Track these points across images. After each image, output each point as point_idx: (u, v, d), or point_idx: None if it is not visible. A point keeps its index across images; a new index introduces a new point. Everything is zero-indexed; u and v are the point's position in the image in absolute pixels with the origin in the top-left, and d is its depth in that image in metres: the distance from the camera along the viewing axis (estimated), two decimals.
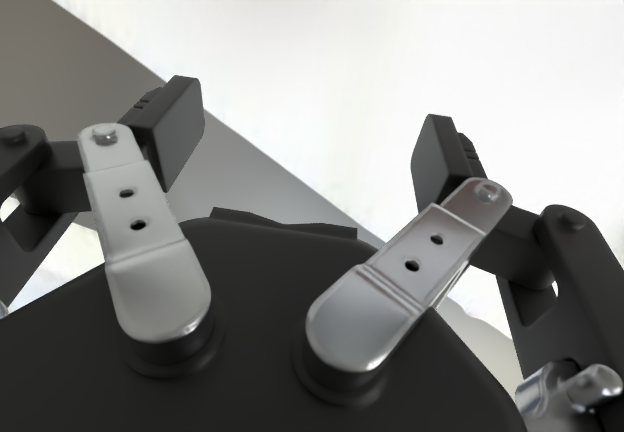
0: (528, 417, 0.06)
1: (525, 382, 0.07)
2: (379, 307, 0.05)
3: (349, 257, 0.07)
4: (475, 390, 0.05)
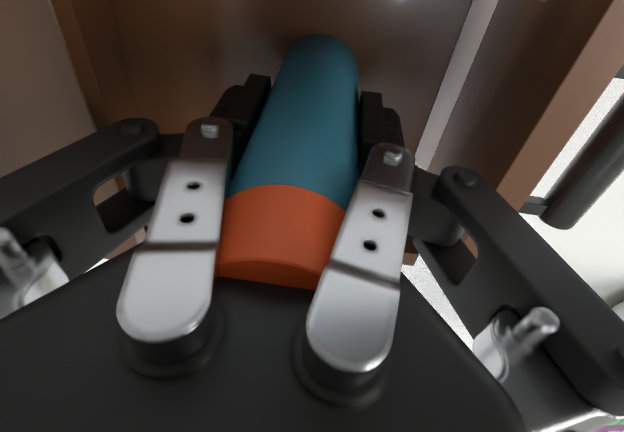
0: (500, 379, 0.06)
1: (479, 341, 0.07)
2: (365, 296, 0.05)
3: None
4: (475, 390, 0.05)
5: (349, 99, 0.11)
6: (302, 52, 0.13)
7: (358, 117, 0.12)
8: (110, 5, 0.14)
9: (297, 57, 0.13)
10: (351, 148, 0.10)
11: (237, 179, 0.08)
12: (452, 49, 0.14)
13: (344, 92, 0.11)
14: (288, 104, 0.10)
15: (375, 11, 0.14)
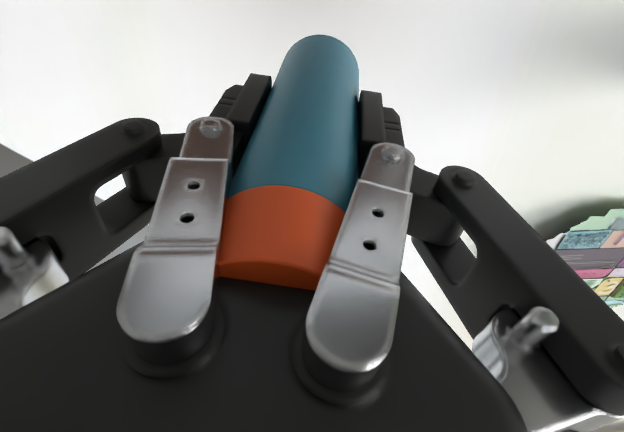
0: (500, 379, 0.06)
1: (479, 341, 0.07)
2: (365, 296, 0.05)
3: None
4: (475, 390, 0.05)
5: (349, 100, 0.11)
6: (302, 53, 0.13)
7: None
8: None
9: (297, 58, 0.13)
10: (351, 149, 0.10)
11: (237, 180, 0.08)
12: None
13: (344, 93, 0.11)
14: (288, 105, 0.10)
15: None
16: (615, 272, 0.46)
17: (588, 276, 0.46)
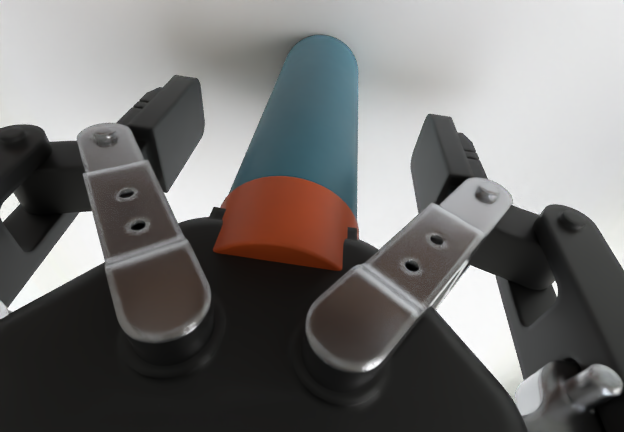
0: (528, 417, 0.06)
1: (525, 382, 0.07)
2: (379, 307, 0.05)
3: (349, 257, 0.07)
4: (475, 390, 0.05)
5: (349, 97, 0.12)
6: (303, 52, 0.14)
7: (357, 115, 0.13)
8: None
9: (298, 57, 0.13)
10: (350, 143, 0.10)
11: (242, 172, 0.09)
12: None
13: (344, 90, 0.12)
14: (290, 102, 0.10)
15: None
16: None
17: None
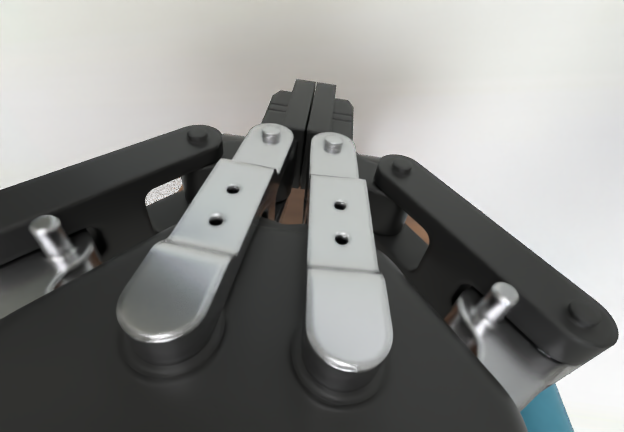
0: None
1: (448, 325, 0.07)
2: (355, 292, 0.05)
3: None
4: (475, 390, 0.05)
5: None
6: None
7: None
8: None
9: None
10: None
11: None
12: None
13: None
14: None
15: None
16: None
17: None
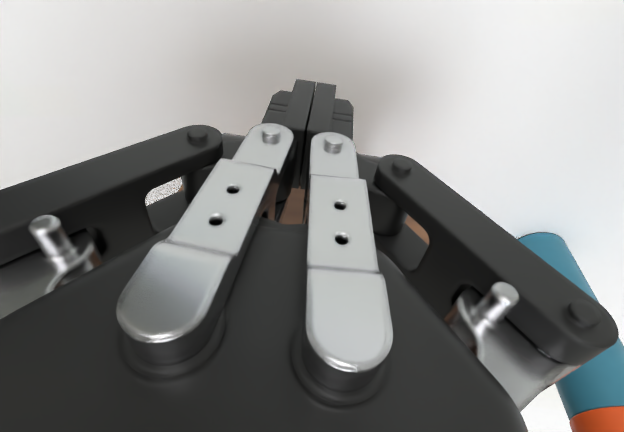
0: (479, 361, 0.06)
1: (448, 325, 0.07)
2: (355, 292, 0.05)
3: None
4: (475, 390, 0.05)
5: None
6: None
7: None
8: None
9: None
10: None
11: (565, 409, 0.17)
12: None
13: None
14: None
15: None
16: None
17: None
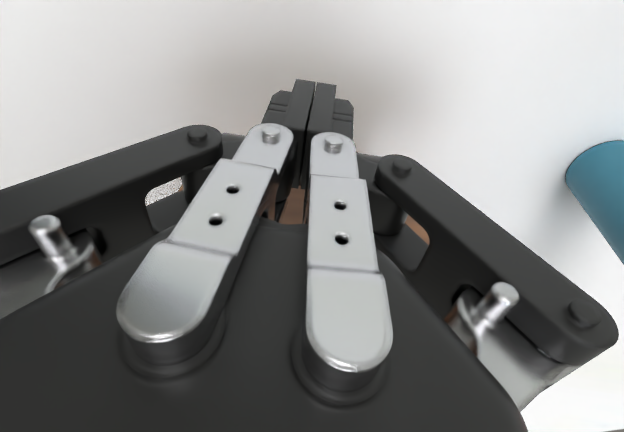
0: (479, 361, 0.06)
1: (448, 325, 0.07)
2: (355, 292, 0.05)
3: None
4: (475, 390, 0.05)
5: None
6: (582, 198, 0.17)
7: None
8: None
9: (586, 206, 0.17)
10: None
11: None
12: None
13: None
14: None
15: None
16: None
17: None
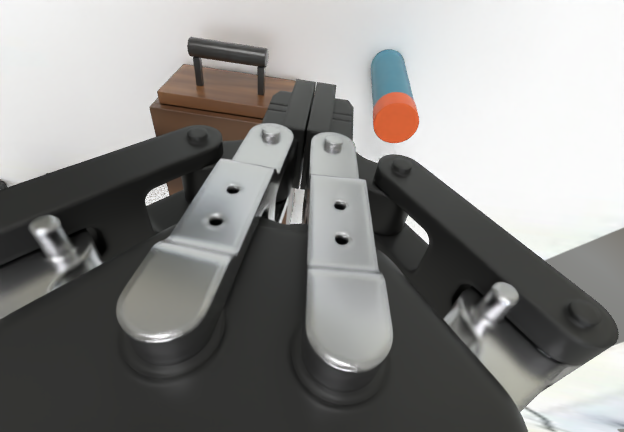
0: None
1: (448, 325, 0.07)
2: (355, 292, 0.05)
3: None
4: (475, 390, 0.05)
5: (380, 70, 0.32)
6: None
7: (389, 65, 0.32)
8: None
9: None
10: (384, 80, 0.30)
11: None
12: None
13: (378, 71, 0.32)
14: (372, 96, 0.32)
15: None
16: None
17: None
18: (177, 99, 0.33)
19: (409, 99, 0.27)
